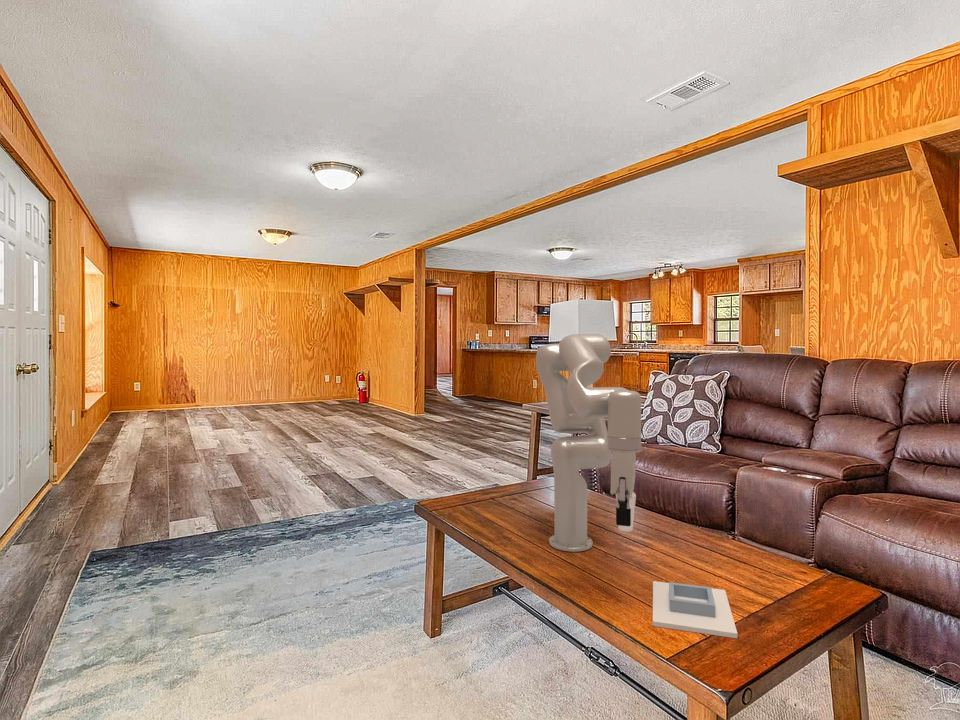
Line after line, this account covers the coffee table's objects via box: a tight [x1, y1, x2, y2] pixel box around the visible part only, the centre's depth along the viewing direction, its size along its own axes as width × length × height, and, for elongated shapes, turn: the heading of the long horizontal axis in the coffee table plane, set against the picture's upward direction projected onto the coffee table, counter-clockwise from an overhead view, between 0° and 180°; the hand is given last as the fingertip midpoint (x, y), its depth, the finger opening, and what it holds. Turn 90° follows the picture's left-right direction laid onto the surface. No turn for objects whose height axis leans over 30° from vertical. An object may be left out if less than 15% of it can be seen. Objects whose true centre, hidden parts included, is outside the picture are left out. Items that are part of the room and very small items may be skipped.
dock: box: [652, 580, 738, 640], centre depth 118 cm, size 20×16×4 cm
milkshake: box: [615, 491, 637, 532], centre depth 125 cm, size 4×5×10 cm
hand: (624, 521), depth 125 cm, fingers closed on milkshake, 4 cm apart
